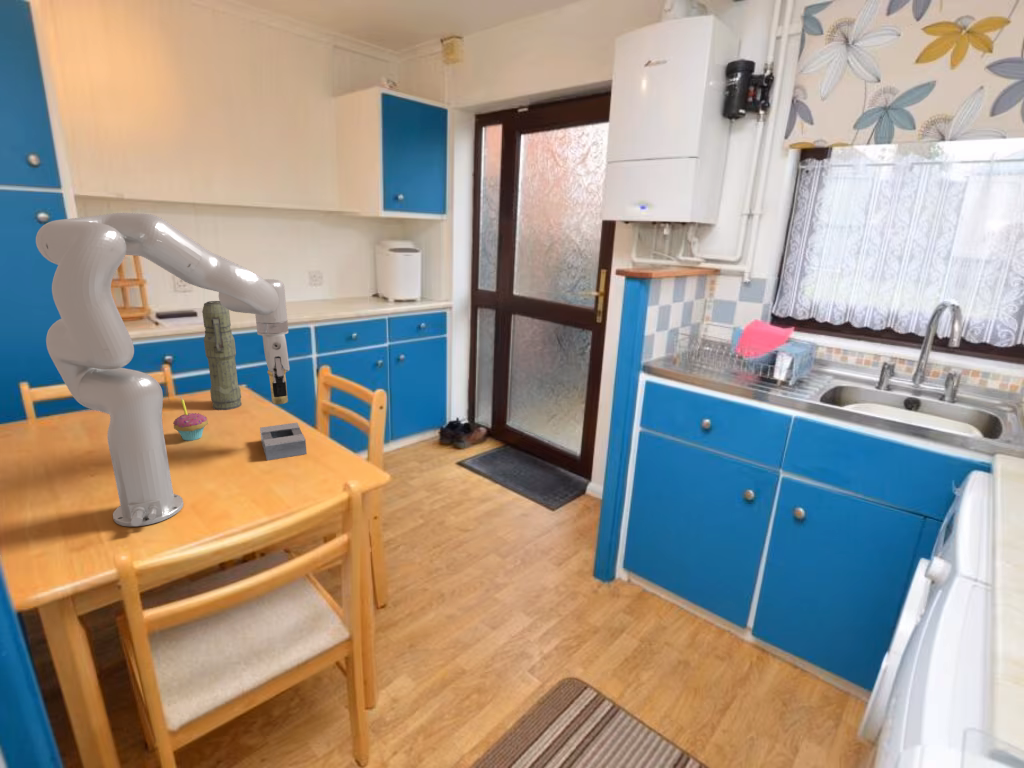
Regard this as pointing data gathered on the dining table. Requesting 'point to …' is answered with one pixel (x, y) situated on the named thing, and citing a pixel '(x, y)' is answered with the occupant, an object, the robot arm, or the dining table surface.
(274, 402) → the brass capped cylinder
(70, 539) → the dining table surface
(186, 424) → the cupcake
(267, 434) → the jig
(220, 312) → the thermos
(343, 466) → the dining table surface
